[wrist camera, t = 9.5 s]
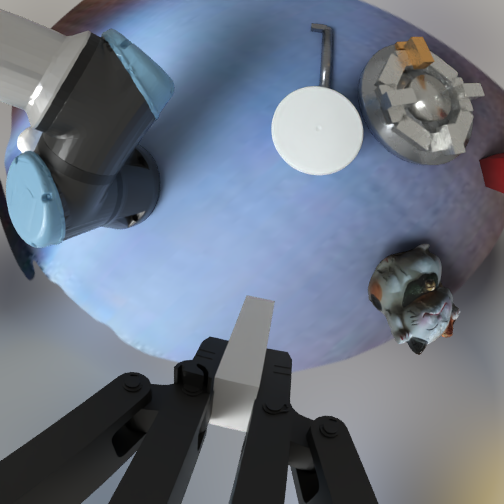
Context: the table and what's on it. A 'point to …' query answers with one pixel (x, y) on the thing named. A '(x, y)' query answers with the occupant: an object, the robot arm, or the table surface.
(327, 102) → the supplement tub
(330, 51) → the pin spanner
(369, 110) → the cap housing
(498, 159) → the french fries
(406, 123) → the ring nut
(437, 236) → the table surface
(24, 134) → the white animal figurine
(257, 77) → the table surface
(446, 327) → the lucky cat figurine
